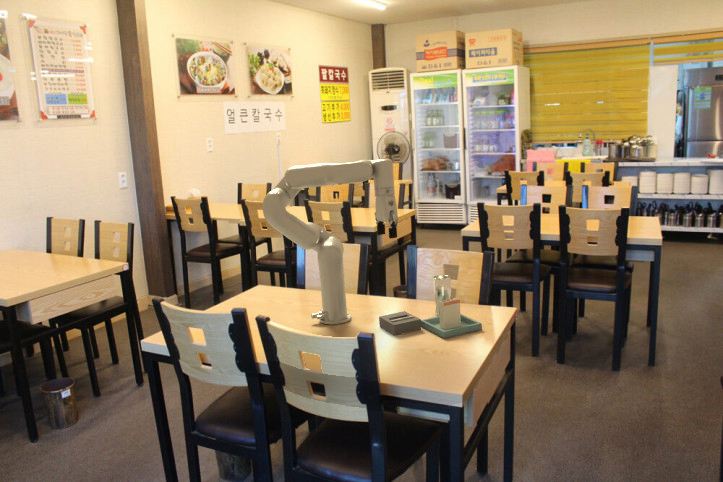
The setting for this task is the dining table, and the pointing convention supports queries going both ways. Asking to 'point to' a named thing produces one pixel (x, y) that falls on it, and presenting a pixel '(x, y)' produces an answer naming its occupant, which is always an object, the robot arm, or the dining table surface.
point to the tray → (466, 327)
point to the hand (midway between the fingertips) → (387, 236)
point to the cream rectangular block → (449, 313)
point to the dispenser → (400, 323)
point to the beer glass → (441, 289)
